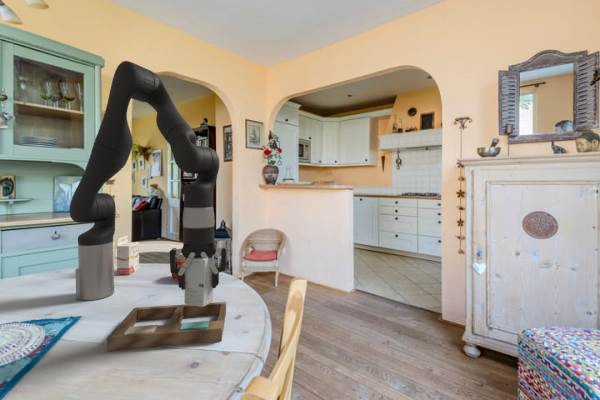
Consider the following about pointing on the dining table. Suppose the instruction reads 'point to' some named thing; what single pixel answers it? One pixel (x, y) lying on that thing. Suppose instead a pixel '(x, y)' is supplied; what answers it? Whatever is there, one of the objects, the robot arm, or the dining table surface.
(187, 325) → the socket block
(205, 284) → the skincare box
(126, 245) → the ink cartridge box
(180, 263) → the dragon fruit
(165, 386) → the dining table surface
